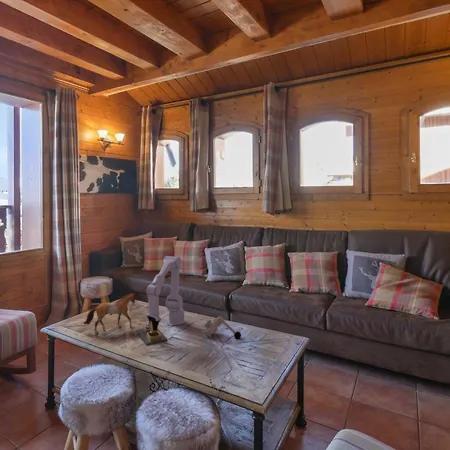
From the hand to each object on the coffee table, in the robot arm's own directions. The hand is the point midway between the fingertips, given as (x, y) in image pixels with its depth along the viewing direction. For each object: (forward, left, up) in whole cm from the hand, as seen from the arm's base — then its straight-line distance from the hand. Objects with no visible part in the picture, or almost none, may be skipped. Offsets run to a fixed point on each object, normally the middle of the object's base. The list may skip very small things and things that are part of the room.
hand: (153, 328), depth 183 cm
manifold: (0, -5, -6) cm, 8 cm away
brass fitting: (0, 0, -3) cm, 3 cm away
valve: (-36, +16, -6) cm, 40 cm away
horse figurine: (+18, -28, -6) cm, 34 cm away
